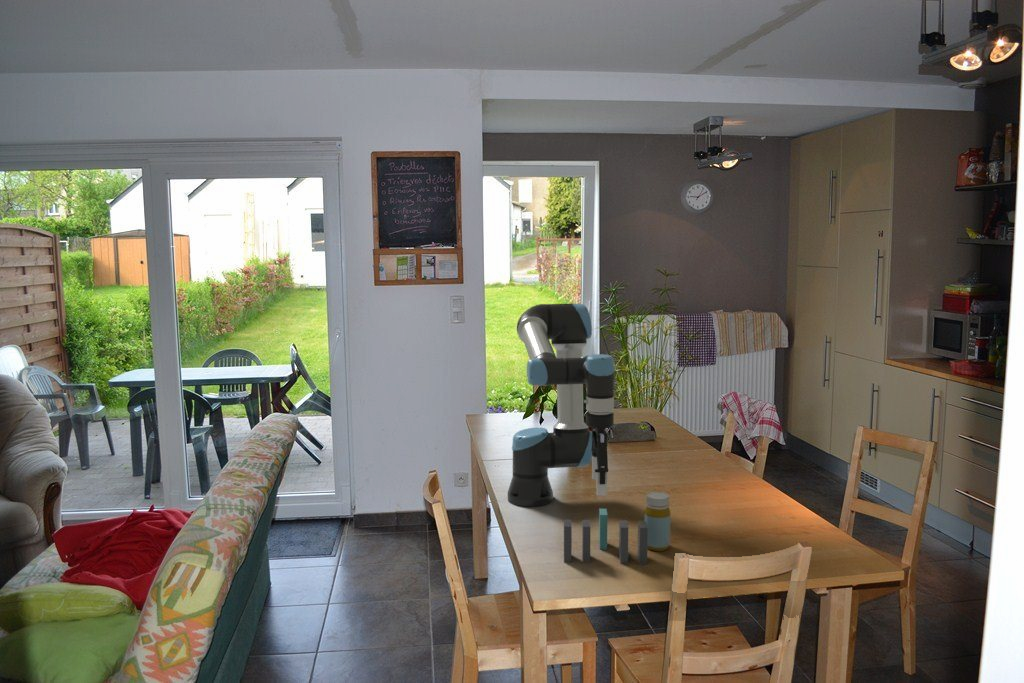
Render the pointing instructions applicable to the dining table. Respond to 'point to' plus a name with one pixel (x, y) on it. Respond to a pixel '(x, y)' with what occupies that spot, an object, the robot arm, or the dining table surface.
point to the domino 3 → (603, 529)
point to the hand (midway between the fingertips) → (599, 487)
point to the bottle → (658, 521)
